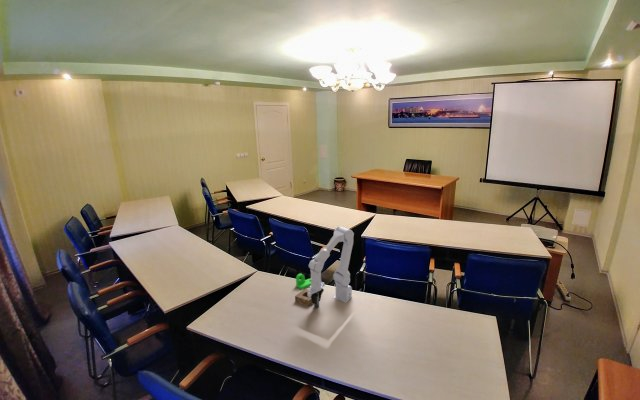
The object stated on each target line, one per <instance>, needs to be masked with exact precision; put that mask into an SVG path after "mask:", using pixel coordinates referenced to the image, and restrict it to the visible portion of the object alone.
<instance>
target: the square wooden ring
mask: <svg viewBox="0 0 640 400" xmlns="http://www.w3.org/2000/svg"><path fill="white" fill-rule="evenodd" d="M309 290H310V289H307V288H304V289H301V290H300V292H298V293H297V294H296V295H295V296H294V301H295V302H296V303H299V304H301V305H303V306H307V307H310V306H311V305H313V302H312V299H311V297H309V296H307V293H308V292H309Z"/></svg>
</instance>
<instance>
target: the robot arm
mask: <svg viewBox="0 0 640 400" xmlns="http://www.w3.org/2000/svg"><path fill="white" fill-rule="evenodd" d="M354 235H355V232H353V230H352V229H348V228H346V227H344V226H341V225H339V226H337V227H336V228H335V230H334V231H333V236H332V237H331V238H330V239H329V241H328V243H327V245H326V246H325V247H324V248H322V249H320V250H319V252H318V253H317V255H316V256H315V257H314V259H311V260H310V261H309V264H308V268H309V269H310V278H311V286H309V289H308V290H309V292H308V293H307V296H309V297H311V299H312V302H313V303H312V305H314V304H317V297H318V295H319V302H320V301H321V299H322V298H321V297H322V295H323V292H324V287H325V282H323V281H322V270H323V268H324V265H325V262H326V261H327V259H328V258H329V257H330V256H331V254H330V253H331V251H332V250H333V249H334V248H335V247H336V246H337V244H339V243H342V242H343V245H342V250H341V255H340V259H339V266H338V267H337V268H336V269H335V271H334V273H333V275H332V280H334V283H335V295H334V296H333V297H332V298H333V299H334V300H335V299H336V300H339V301H341V302H344V303H348V302H349V300H350V299H352V297H353V287H352V286H351V285H349V284H350V283H351V273H350V271H349V265H350V261H351V254H352V250H353V246H354ZM316 292H319V294H316Z"/></svg>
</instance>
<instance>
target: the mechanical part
mask: <svg viewBox="0 0 640 400" xmlns="http://www.w3.org/2000/svg"><path fill="white" fill-rule="evenodd" d="M295 286H296V287H297V288H298V289H300V290H304V289H307V288H308V287H309V288H310V286H311V277H310V278H307V279H306V278H305V274H302V273H298V274H297V275H296V276H295Z"/></svg>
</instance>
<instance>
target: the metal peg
mask: <svg viewBox="0 0 640 400" xmlns="http://www.w3.org/2000/svg"><path fill="white" fill-rule="evenodd" d="M316 294H319V292H316ZM313 308H314V309H319V308H320V301H319V295H318V297H317V304H313Z"/></svg>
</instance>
